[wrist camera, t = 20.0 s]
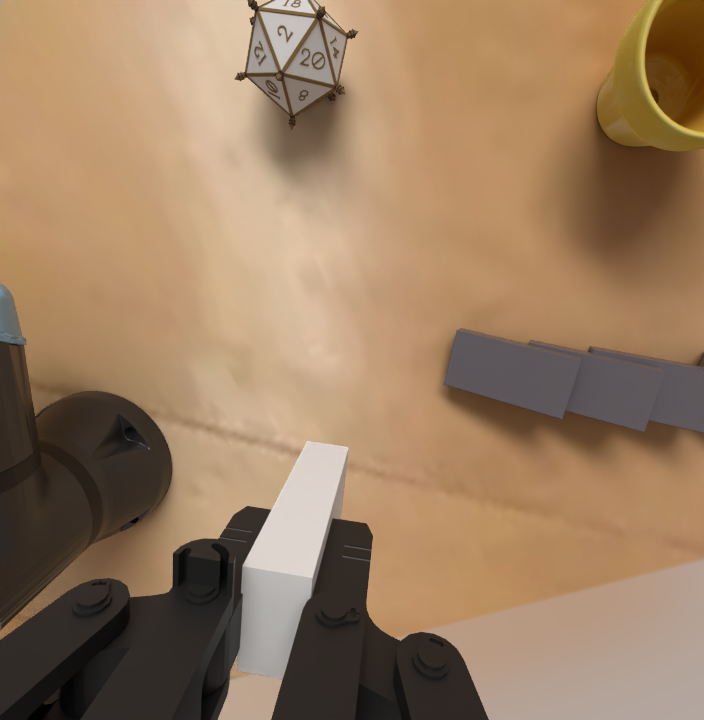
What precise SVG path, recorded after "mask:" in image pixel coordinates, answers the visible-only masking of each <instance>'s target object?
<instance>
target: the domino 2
mask: <svg viewBox="0 0 704 720" xmlns="http://www.w3.org/2000/svg"><path fill="white" fill-rule="evenodd" d="M528 345H533V346H537V347H541V348H545V349H549V350H553V351H557V352H562V353H566V354H570V355H574V356H578V357H581V363H580V366H579V369H578V372H577V376H576V379H575V382H574V385H573V388H572V391H571V394H570V397H569V400H568V403H567V407H566V410H565V411H569V412H573V413H576V414H580V415H584V416H587V417H591V418H595V419H598V420H602V421H606V422H609V423H613V424H617V425H620V426H624V427H628V428H631V429H635V430H639V431H642V432H645V429H646V426H647V423H648V420H649V417H650V414H651V412H652V409H653V406H654V403H655V400H656V397H657V394H658V391H659V388H660V385H661V382H662V379H663V376H664V373H665V372H664V371H663V370H662V369H661V368H659V367H654V366H649V365H645V364H640V363H635V362H631V361H626V360H622V359H617V358H612V357H608V356H603V355H598V354H594V353H589V352H585V351H580V350H575V349H571V348H566V347H561V346H557V345H552V344H548V343H543V342H538V341H534V340H531V341H530V342H529V344H528Z"/></svg>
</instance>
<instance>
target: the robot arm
mask: <svg viewBox="0 0 704 720" xmlns="http://www.w3.org/2000/svg"><path fill="white" fill-rule="evenodd" d="M24 345H26V339H25V338H24V337H23V336H22V333H21V328H20V324H19V320H18V315H17V311H16V307H15V302H14V299H13V296H12V294H11V293H10V291H9V290H8V289H7V288H6V287H5V286H4V285H3V284H2V283H0V630H1V629H2V628H3V627H4V626H5V625H6V624H7V623H8V622H9V621H11V620H12V619H13V618H14V617H15V616H16V615H17V614H18V613H19V612H20V611H21V610H22V609H23V608H24V607H25V606H26V605H27V604H28V603H29V602H31V601H32V600H33V599H34V598H35V597H36V596H37V595H38V594H39V593H40V592H41V591H42V590H43V589H44V588H45V587H46V586H47V585H48V584H50V583H51V582H52V581H53V580H54V579H55V578H56V577H57V576H58V575H59V574H60V573H61V572H62V571H63V570H64V569H65V568H66V567H67V566H68V565H70V564H71V563H72V562H73V561H74V560H75V559H76V558H77V557H78V556H79V555H80V554H81V553H82V552H83V551H84V550H85V549H87V548H88V547H89V546H90V545H91V544H94V543H96V542H98V541H100V540H103V539H105V538H107V537H110V536H112V535H114V534H116V533H118V532H120V531H124V530H126V529H128V528H130V527H132V526H134V525H136V524H137V523H139V522H140V521H142V520H143V519H144V518H145V517H146V516H147V515H148V514H149V513H150V512H151V511H152V510H153V509H154V508H155V507H156V506H157V505H158V504H159V503H160V502H161V501H162V499H163V498H164V496H165V494H166V492H167V490H168V487H169V484H170V480H171V471H172V466H171V457H170V452H169V449H168V446H167V443H166V440H165V438H164V436H163V434H162V433H161V431H160V429H159V428H158V426H157V425H156V424H155V422H154V421H153V420H152V419H151V418H150V417H149V416H148V415H147V414H146V413H145V412H144V411H143V410H142V409H141V408H139V407H138V406H137V405H135V404H134V403H132V402H130V401H128V400H127V399H125V398H122V397H120V396H117V395H114V394H111V393H107V392H100V391H86V392H80V393H76V394H73V395H70V396H68V397H65V398H63V399H61V400H58V401H56V402H54V403H52V404H50V405H48V406H47V407H45V408H44V409H43V410H41V411H40V412H39V413H38V414H37V415H36V416H35V414H34V408H33V401H32V395H31V389H30V383H29V376H28V370H27V364H26V356H25V349H24ZM348 450H349V447H344V446H337V445H331V444H324V443H317V442H310V441H307V442H306V444H305V446H304V448H303V450H302V452H301V454H300V456H299V458H298V460H297V462H296V464H295V466H294V467H293V469H292V471H291V473H290V475H289V477H288V479H287V481H286V483H285V485H284V487H283V489H282V491H281V493H280V495H279V496H278V498H277V500H276V502H275V504H274V506H273V508H272V510H269V509H263V508H257V507H250V506H247V507H245V508H244V509H242V510H241V511H239V512H237V513H236V514H234V515H233V517H232V519H231V520H230V522H229V523H228V525H227V526H226V529H224V531H223V532H222V534H221V535H220V538H218V539H200V540H195V541H191V542H189V543H187V544H185V545H183V546H181V547H180V548H179V549H177V550H176V551H175V552H174V553H173V587H172V588H171V590H170V591H169V592H167V593H165V594H159V595H153V596H141V597H130V594H129V591H128V587H127V586H126V585H125V584H124V583H122V582H121V581H119V580H114V579H110V578H107V579H95V580H92V581H89V582H85V583H82V584H80V585H78V586H77V587H75V588H73V589H71V590H69V591H68V592H66V593H65V594H64V595H62V596H61V597H60V598H58V599H57V600H55V601H54V602H53V603H51V604H50V605H48V606H47V607H46V608H44V609H43V610H41V611H40V612H39V613H37V614H36V615H34V616H33V617H32V618H30V619H29V620H27V621H26V622H25V623H23V624H22V625H21V626H19V627H18V628H16V629H15V630H14V631H12V632H11V633H9V634H8V635H7V636H5V637H4V638H2V639H1V640H0V720H218V717H219V714H220V712H221V709H222V707H223V704H224V702H225V699H226V697H227V694H228V688H229V680H230V671H231V668H232V666H233V663H234V661H235V658H236V656H237V654H238V657H237V671H241V672H247V673H252V674H257V675H263V676H268V677H273V678H278V679H283V680H282V684H281V687H280V691H279V694H278V698H277V702H276V705H275V709H274V712H273V716H272V719H271V720H489V719H488V717H487V715H486V712H485V710H484V707H483V705H482V702H481V700H480V698H479V695H478V693H477V691H476V688H475V686H474V683H473V681H472V679H471V676H470V673H469V671H468V669H467V666H466V664H465V662H464V660H463V658H462V656H461V655H460V653H459V651H458V650H457V649H456V648H455V647H454V646H453V645H452V644H451V643H450V642H448V641H447V640H446V639H444V638H442V637H440V636H437V635H435V634H431V633H425V632H419V633H414V634H410V635H408V636H407V637H406V638H404V639H403V640H401V641H400V640H397V639H395V638H393V637H391V636H389V635H388V634H386V633H384V632H383V631H381V630H380V629H379V628H378V627H377V626H376V625H375V624H374V623H373V621H372V620H371V619H370V617H369V615H368V612H367V607H366V599H367V589H368V579H369V569H370V559H371V549H372V539H373V535H372V533H371V531H370V529H369V527H368V525H367V524H366V523H360V522H353V521H347V520H341V519H340V518H341V512H342V503H343V494H344V486H345V477H346V468H347V459H348Z"/></svg>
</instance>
